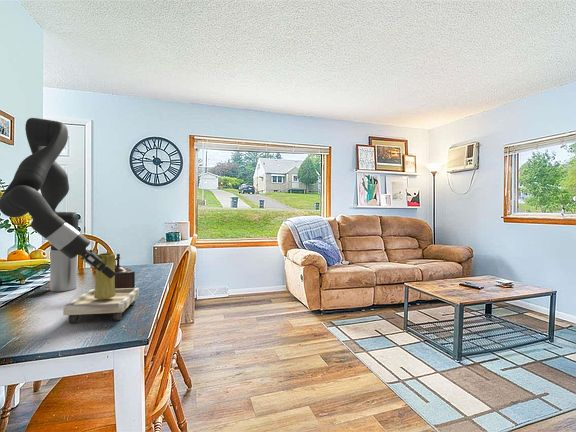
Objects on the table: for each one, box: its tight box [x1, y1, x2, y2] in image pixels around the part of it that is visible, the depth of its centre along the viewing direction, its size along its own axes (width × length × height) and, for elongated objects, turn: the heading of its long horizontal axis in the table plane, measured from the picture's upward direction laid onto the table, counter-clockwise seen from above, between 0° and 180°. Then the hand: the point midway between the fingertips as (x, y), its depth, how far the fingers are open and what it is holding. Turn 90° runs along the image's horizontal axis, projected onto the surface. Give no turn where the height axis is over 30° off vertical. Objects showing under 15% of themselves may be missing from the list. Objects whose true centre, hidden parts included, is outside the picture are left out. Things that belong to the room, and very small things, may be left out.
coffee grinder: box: [93, 250, 136, 289], centre depth 124 cm, size 16×11×18 cm
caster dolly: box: [62, 287, 140, 324], centre depth 101 cm, size 20×16×6 cm
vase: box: [94, 252, 116, 299], centre depth 101 cm, size 6×6×14 cm
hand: (111, 274), depth 102 cm, fingers closed on vase, 5 cm apart
